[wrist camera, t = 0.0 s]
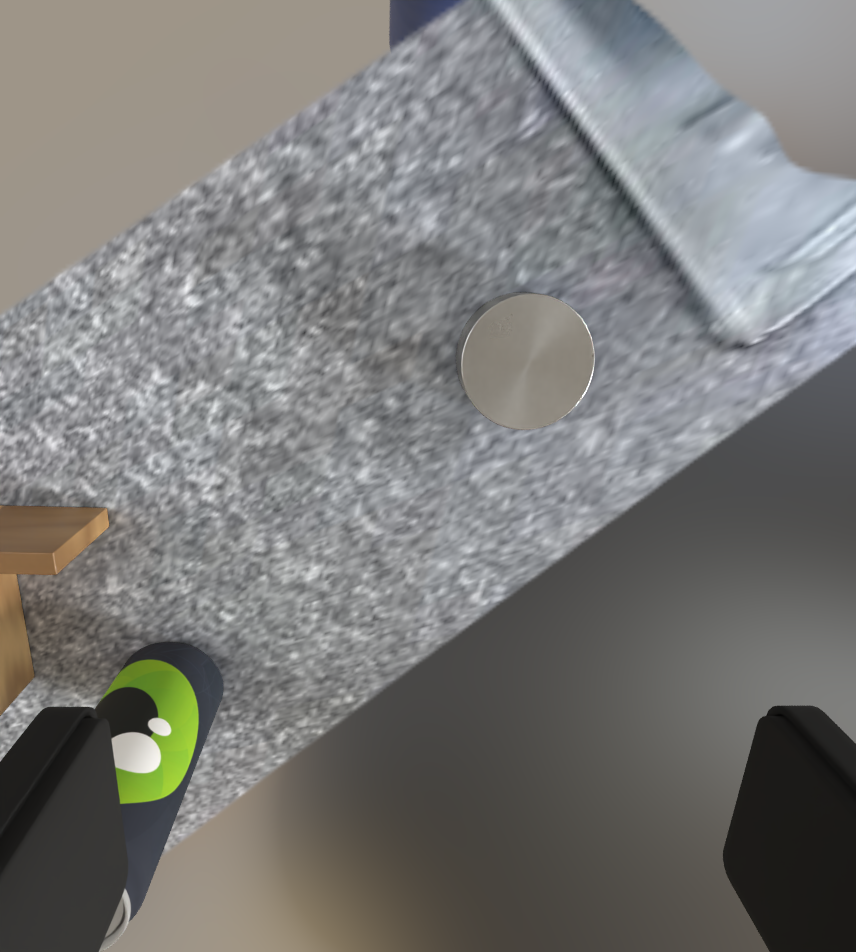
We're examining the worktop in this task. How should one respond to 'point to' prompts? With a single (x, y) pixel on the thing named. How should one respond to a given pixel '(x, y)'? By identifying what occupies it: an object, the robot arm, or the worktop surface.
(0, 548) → the corner guard
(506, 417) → the brushed steel puck
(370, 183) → the worktop surface
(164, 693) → the beverage can
